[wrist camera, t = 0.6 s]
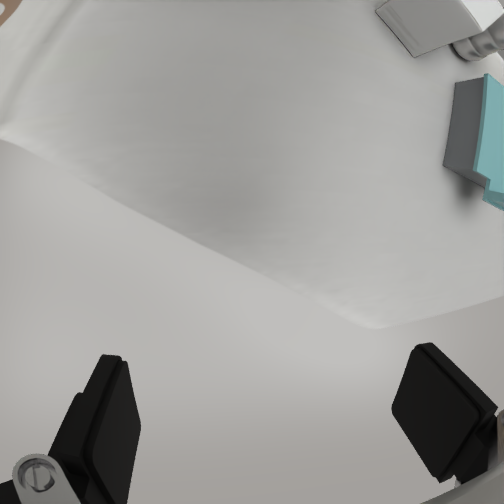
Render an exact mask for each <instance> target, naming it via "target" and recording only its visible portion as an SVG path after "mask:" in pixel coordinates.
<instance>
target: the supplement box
mask: <svg viewBox="0 0 504 504" xmlns="http://www.w3.org/2000/svg"><path fill="white" fill-rule="evenodd" d="M376 13H377V14H378V15H379V16H380V17H381V18H382V19H383V20H384V22H385V23H386V24H387V25H388V26H389V27H390V28H391V30H392V31H393V32H394V33H395V34H396V36H397V37H398V38H399V39H400V40H401V42H402V43H403V44H404V45H405V47H406V48H407V49H408V50H409V52H410V53H411V54H412V56H413V57H417V56H419V55H422V54H424V53H427V52H429V51H432V50H434V49H437V48H440V47H442V46H445V45H447V44H450V43H453V42H456V41H458V40H461V39H464V38H467V37H470V36H473V35H476V34H479V33H482V32H483V31H484V30H486V29H487V28H488V27H489V26H490V25H491V24H492V23H493V22H495V21H496V20H497V19H498V18H499V17H500V16H501V15H502V14H503V13H504V9H503V7H502V6H501V4H500V3H499V1H498V0H389V1H388V2H386V3H385V4H384V5H382V6H381V7H380V8H379V9H377V10H376Z"/></svg>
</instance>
